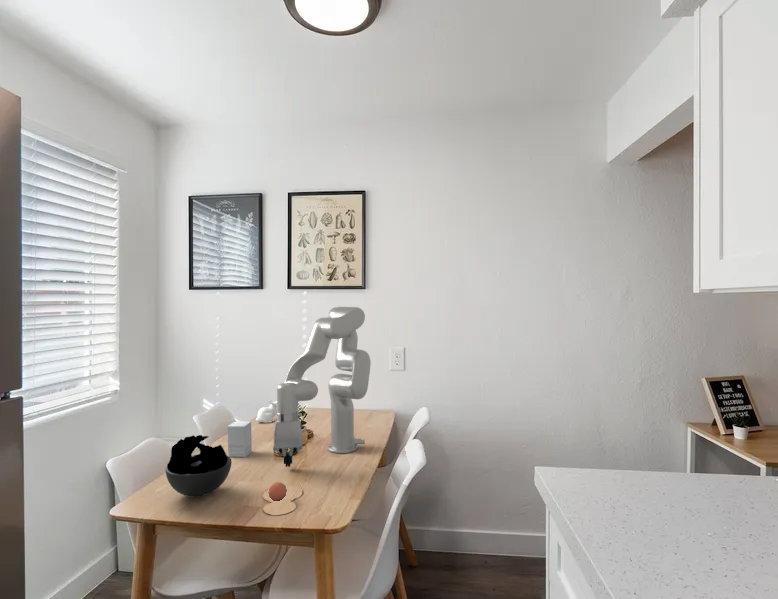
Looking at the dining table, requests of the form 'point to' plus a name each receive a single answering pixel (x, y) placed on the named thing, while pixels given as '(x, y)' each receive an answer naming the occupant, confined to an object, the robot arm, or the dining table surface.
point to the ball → (277, 491)
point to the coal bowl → (197, 467)
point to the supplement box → (239, 439)
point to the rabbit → (267, 412)
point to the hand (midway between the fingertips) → (288, 465)
